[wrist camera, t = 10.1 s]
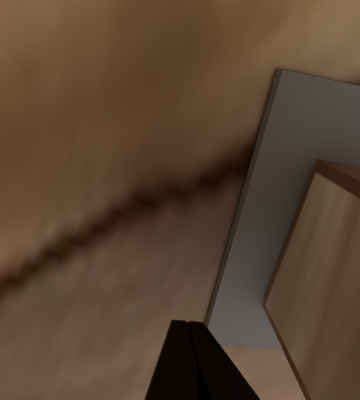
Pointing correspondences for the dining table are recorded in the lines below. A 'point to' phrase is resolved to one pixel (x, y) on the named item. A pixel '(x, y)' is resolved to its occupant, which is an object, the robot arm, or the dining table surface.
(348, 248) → the walnut slab
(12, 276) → the dining table surface
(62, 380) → the dining table surface
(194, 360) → the robot arm
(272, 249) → the rubber mat
